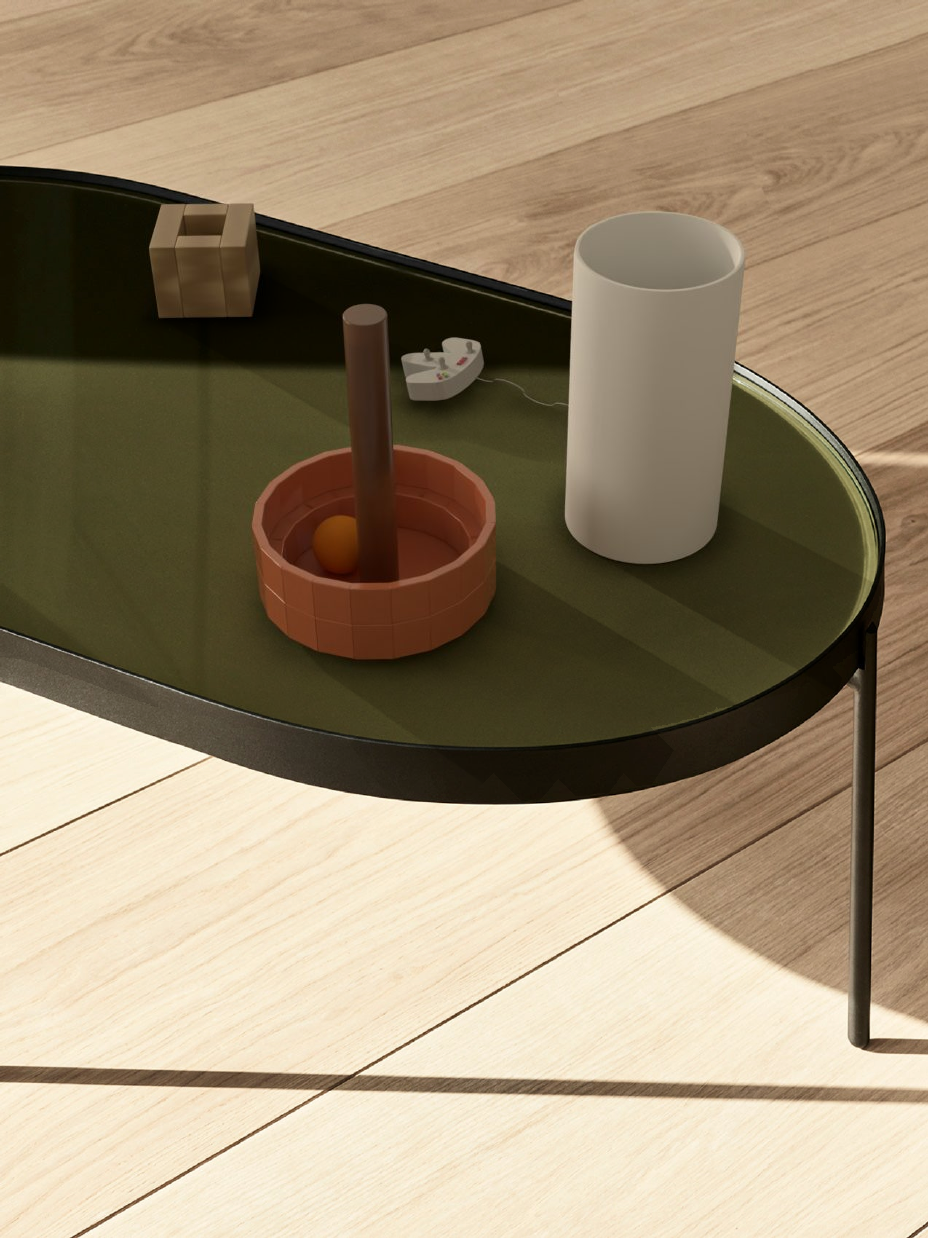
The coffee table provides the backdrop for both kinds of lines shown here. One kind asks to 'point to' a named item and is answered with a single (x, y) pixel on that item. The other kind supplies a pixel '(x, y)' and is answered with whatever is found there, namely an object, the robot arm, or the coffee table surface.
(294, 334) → the coffee table surface
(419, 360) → the game controller
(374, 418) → the stick
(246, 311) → the holder
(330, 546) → the ball
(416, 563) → the bowl
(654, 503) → the cup
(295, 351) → the coffee table surface
